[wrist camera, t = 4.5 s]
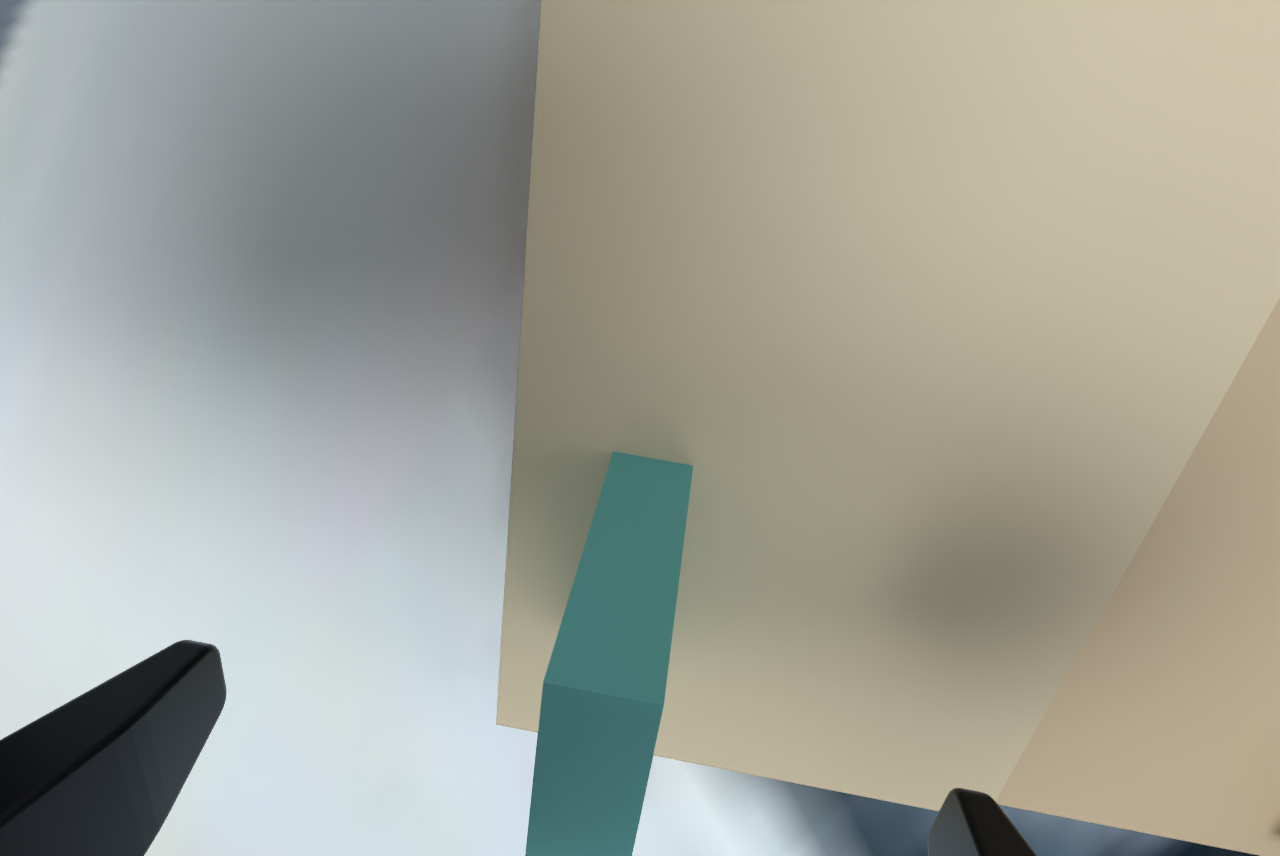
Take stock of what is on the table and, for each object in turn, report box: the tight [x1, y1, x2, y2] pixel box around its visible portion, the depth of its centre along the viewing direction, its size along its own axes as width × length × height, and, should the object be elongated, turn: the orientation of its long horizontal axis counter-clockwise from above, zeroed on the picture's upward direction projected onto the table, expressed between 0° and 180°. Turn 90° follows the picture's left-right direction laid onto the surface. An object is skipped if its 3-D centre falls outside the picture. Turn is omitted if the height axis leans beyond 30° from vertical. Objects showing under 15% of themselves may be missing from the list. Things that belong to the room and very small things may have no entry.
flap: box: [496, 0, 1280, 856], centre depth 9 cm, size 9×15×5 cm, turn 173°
